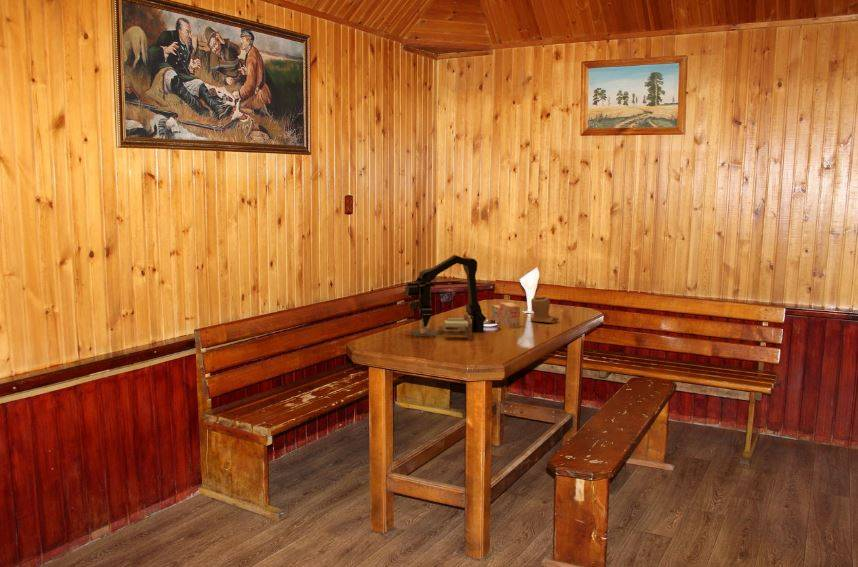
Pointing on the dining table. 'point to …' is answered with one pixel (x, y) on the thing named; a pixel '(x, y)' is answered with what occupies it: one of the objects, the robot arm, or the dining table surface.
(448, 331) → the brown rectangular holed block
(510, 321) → the stack of blocks
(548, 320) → the brown boot
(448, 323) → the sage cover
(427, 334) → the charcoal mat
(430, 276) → the robot arm
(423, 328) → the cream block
